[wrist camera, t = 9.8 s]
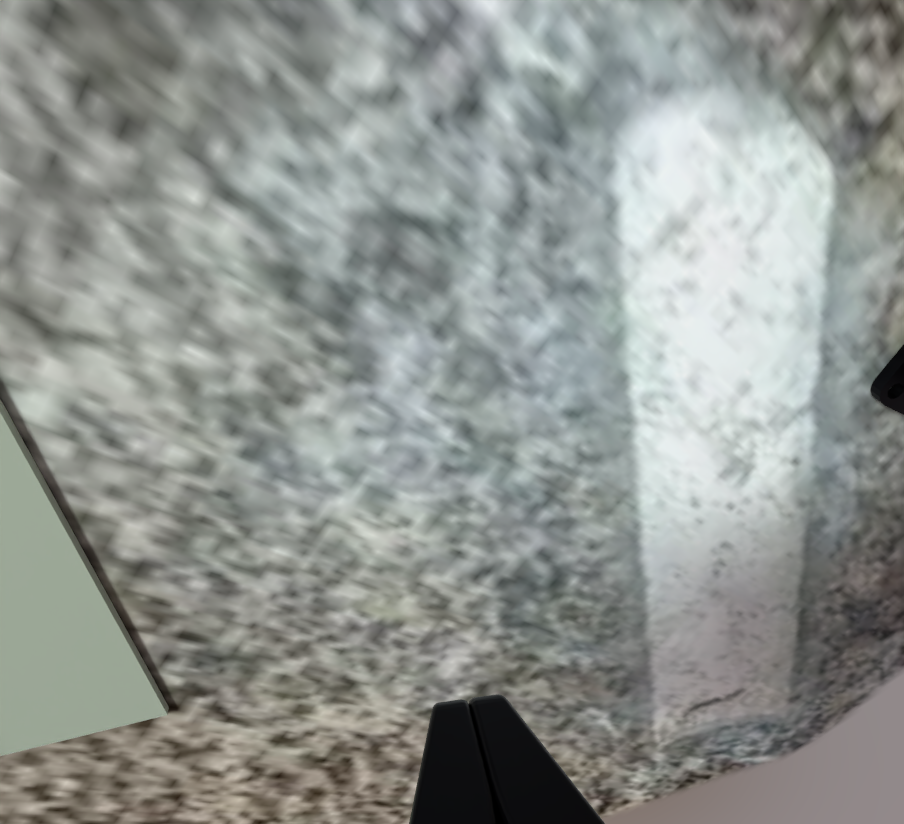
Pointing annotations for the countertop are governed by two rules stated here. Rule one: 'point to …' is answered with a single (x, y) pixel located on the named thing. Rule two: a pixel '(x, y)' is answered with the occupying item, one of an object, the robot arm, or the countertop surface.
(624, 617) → the countertop surface
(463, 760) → the robot arm
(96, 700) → the mat
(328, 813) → the countertop surface
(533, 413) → the countertop surface
